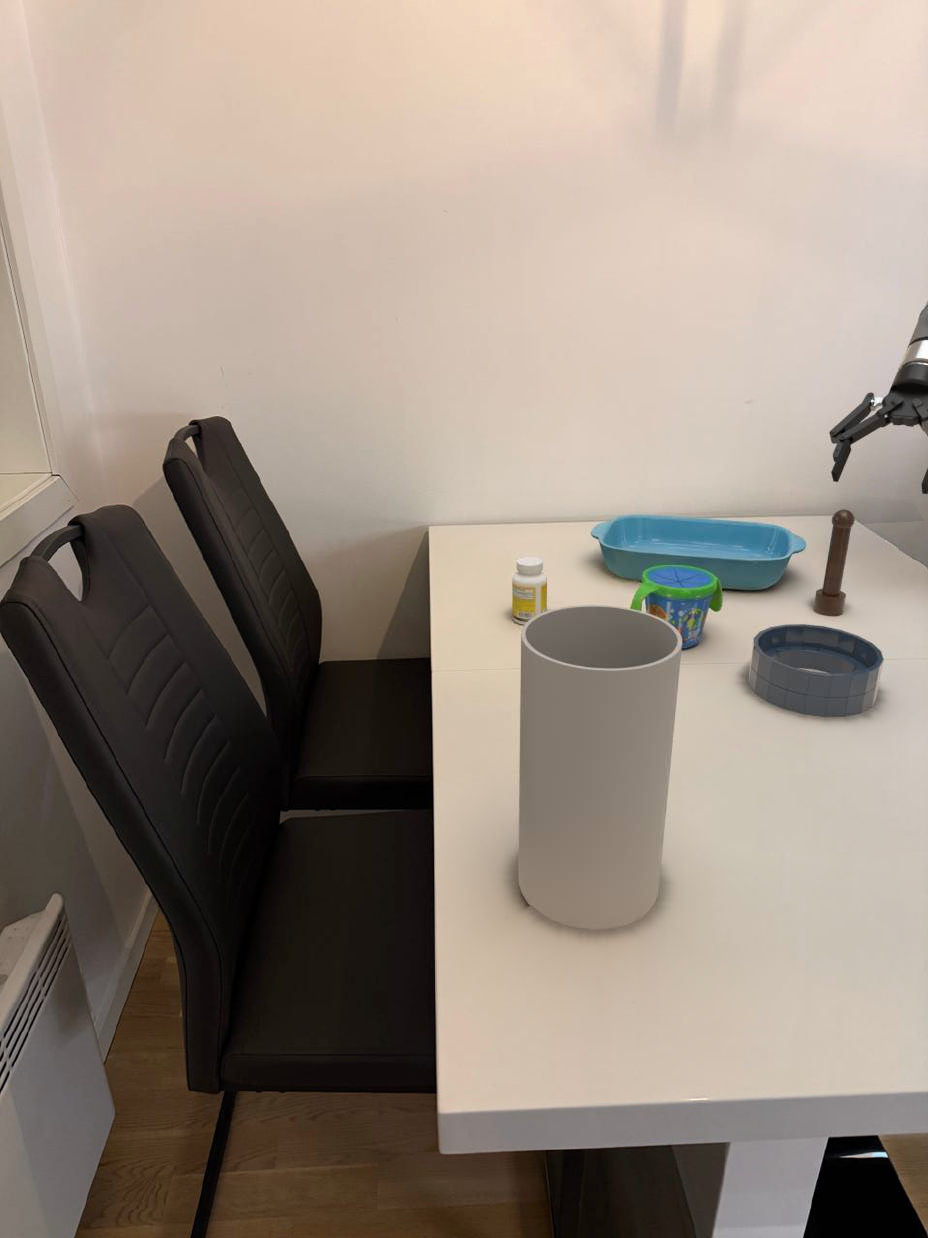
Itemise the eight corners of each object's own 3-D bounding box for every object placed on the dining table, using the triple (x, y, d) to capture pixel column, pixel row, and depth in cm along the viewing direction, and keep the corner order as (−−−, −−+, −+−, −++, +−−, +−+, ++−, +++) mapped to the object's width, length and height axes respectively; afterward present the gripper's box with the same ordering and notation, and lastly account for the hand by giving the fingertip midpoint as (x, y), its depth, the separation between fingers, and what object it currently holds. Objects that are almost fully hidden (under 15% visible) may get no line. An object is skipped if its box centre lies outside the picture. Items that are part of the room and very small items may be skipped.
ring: (885, 685, 110) (894, 640, 107) (858, 736, 99) (868, 687, 96) (768, 658, 118) (774, 615, 116) (731, 701, 107) (737, 655, 104)
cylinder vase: (645, 843, 81) (666, 604, 71) (669, 939, 70) (698, 670, 60) (516, 841, 82) (519, 605, 72) (519, 936, 70) (523, 670, 61)
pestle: (845, 609, 134) (863, 508, 128) (839, 618, 131) (856, 515, 124) (817, 603, 136) (833, 504, 130) (810, 612, 133) (825, 510, 127)
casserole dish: (578, 581, 148) (580, 542, 145) (601, 543, 167) (603, 508, 164) (801, 604, 136) (808, 562, 133) (799, 561, 156) (804, 523, 153)
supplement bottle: (536, 610, 136) (537, 553, 132) (552, 622, 131) (554, 563, 127) (506, 616, 134) (506, 558, 130) (521, 628, 129) (522, 568, 125)
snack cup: (697, 619, 131) (703, 557, 127) (740, 645, 122) (748, 580, 118) (609, 635, 126) (613, 571, 122) (646, 663, 117) (651, 595, 113)
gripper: (1007, 396, 134) (965, 507, 130) (846, 385, 149) (803, 484, 145) (1008, 365, 129) (965, 480, 124) (840, 357, 144) (796, 459, 139)
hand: (878, 483), depth 134 cm, fingers open, 13 cm apart
